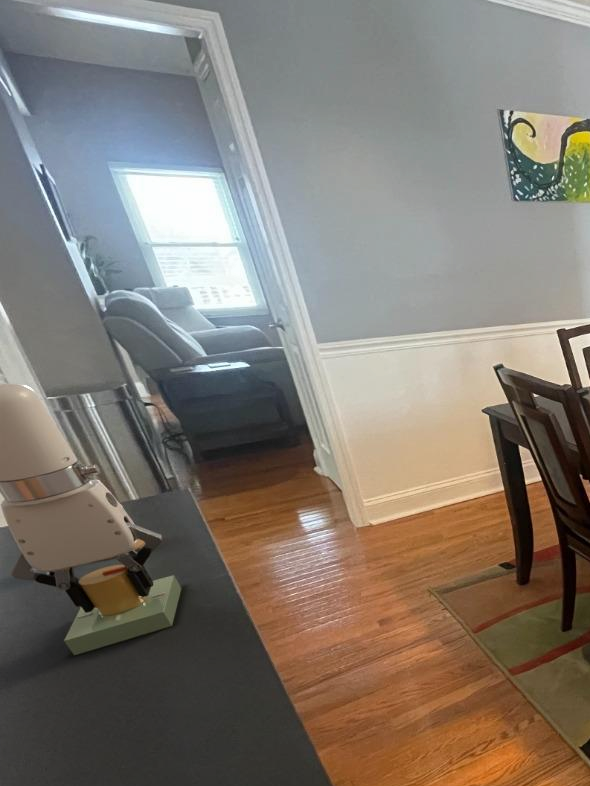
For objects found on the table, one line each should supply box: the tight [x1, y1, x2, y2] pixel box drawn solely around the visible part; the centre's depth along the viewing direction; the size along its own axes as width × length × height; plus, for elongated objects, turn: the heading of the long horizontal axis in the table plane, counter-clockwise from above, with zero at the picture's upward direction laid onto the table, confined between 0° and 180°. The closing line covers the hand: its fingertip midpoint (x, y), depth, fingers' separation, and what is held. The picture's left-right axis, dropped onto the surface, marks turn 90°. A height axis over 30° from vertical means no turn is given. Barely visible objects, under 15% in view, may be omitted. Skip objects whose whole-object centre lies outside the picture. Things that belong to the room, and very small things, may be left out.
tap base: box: [63, 574, 182, 656], centre depth 85 cm, size 10×12×3 cm
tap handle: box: [78, 564, 146, 615], centre depth 83 cm, size 5×5×6 cm
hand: (119, 598), depth 84 cm, fingers closed on tap handle, 5 cm apart
